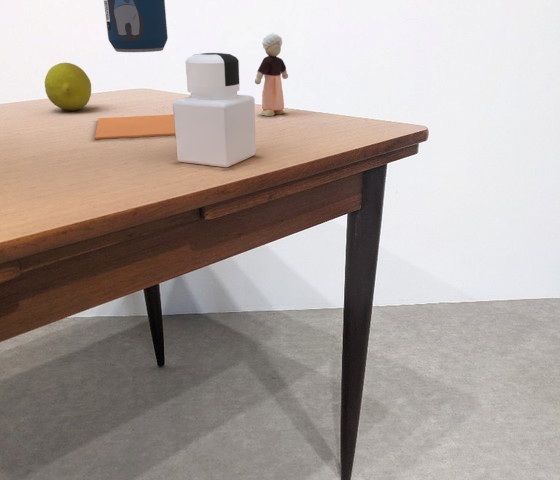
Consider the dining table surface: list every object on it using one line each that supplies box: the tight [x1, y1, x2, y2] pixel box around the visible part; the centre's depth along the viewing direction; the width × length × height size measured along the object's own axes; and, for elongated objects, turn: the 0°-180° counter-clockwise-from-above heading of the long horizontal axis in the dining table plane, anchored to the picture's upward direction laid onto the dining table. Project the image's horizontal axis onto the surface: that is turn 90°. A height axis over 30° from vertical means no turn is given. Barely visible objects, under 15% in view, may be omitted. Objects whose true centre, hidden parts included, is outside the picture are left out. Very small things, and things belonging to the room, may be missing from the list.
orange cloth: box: [94, 114, 175, 140], centre depth 94 cm, size 22×16×1 cm
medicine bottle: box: [172, 52, 257, 168], centre depth 71 cm, size 7×7×12 cm
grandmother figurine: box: [254, 32, 289, 117], centre depth 100 cm, size 8×4×13 cm, turn 151°
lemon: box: [44, 62, 92, 112], centre depth 107 cm, size 11×8×8 cm
